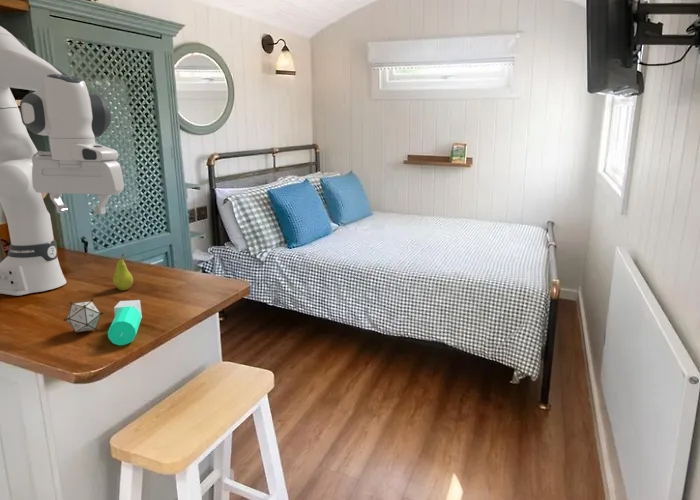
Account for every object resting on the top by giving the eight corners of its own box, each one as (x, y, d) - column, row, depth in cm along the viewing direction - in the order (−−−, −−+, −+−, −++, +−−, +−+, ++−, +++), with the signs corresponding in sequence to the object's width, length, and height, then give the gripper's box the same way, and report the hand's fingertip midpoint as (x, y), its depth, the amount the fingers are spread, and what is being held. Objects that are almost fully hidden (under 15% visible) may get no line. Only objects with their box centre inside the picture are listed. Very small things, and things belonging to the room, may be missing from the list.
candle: (113, 326, 123) (104, 346, 111) (117, 304, 122) (108, 322, 110) (139, 330, 124) (132, 349, 113) (143, 307, 124) (137, 325, 112)
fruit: (120, 287, 156) (115, 250, 153) (137, 287, 156) (133, 250, 153) (110, 293, 151) (105, 255, 148) (128, 293, 150) (124, 255, 147)
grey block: (116, 326, 125) (113, 307, 124) (122, 318, 130) (120, 301, 129) (136, 324, 126) (134, 306, 125) (142, 317, 131) (140, 300, 130)
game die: (58, 335, 114) (52, 315, 121) (92, 347, 120) (84, 327, 127) (83, 304, 115) (75, 286, 122) (115, 317, 121) (105, 299, 128)
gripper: (20, 151, 107) (29, 214, 110) (107, 152, 105) (114, 217, 108) (41, 150, 113) (49, 209, 116) (124, 151, 111) (130, 212, 114)
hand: (81, 213), depth 112 cm, fingers open, 8 cm apart
